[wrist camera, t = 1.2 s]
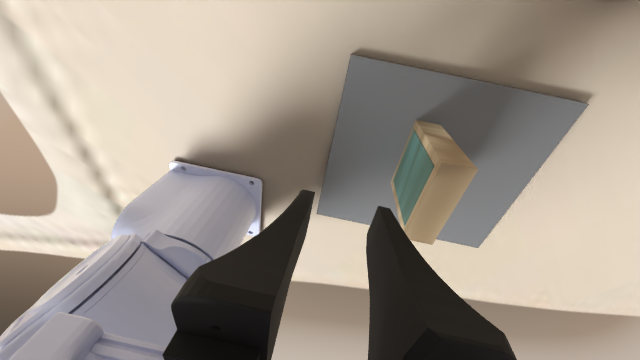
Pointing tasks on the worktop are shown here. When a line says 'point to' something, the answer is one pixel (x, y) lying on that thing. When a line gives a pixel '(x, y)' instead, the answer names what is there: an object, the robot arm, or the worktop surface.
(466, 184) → the wooden block
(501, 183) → the mat
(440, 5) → the worktop surface
